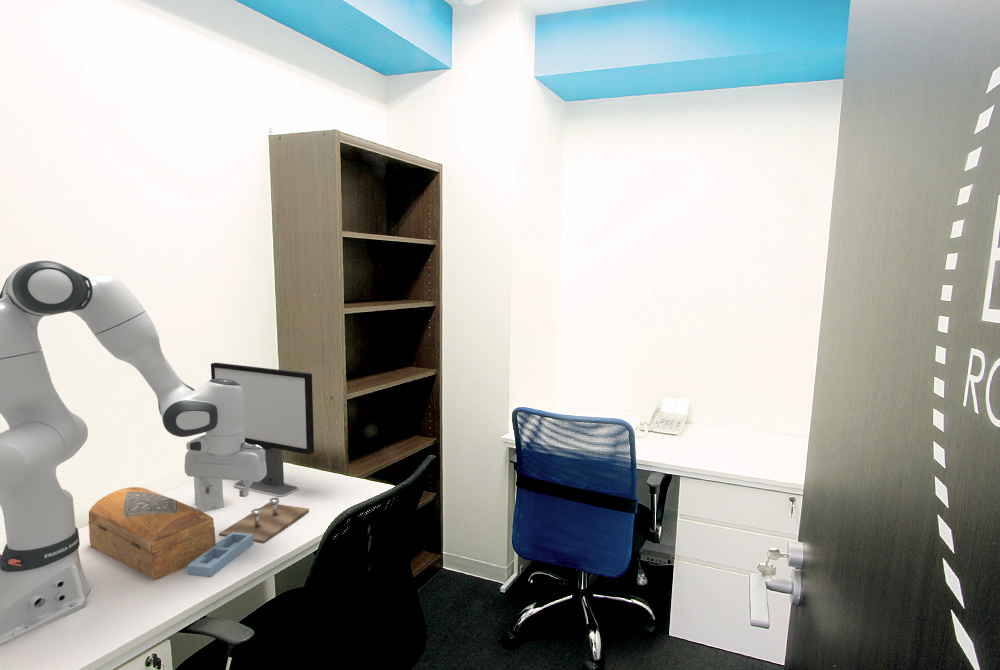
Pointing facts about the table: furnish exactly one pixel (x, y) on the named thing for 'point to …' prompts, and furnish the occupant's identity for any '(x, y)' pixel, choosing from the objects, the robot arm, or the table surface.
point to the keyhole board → (267, 522)
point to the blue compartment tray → (220, 554)
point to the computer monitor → (273, 417)
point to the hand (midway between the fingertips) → (226, 494)
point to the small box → (208, 495)
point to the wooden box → (149, 531)
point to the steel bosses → (259, 511)
